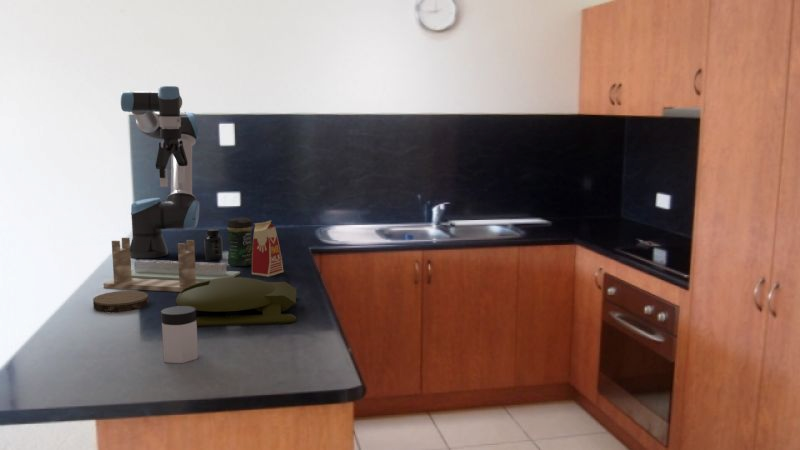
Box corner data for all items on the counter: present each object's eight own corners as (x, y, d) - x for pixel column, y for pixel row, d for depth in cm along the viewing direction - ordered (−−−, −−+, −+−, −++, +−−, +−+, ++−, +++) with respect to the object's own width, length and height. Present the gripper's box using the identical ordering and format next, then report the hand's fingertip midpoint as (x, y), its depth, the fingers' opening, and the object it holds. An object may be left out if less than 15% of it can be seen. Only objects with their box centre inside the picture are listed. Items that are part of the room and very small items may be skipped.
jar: (186, 349, 185) (184, 303, 183) (206, 356, 180) (204, 309, 178) (154, 358, 178) (152, 310, 176) (174, 366, 173) (171, 317, 171)
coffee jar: (239, 268, 280) (238, 220, 277) (224, 265, 284) (223, 218, 281) (257, 263, 288) (255, 216, 285) (242, 261, 292) (240, 215, 289)
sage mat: (119, 277, 264) (119, 274, 264) (140, 268, 278) (140, 266, 278) (224, 282, 257) (223, 280, 257) (240, 273, 271) (240, 271, 270)
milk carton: (283, 271, 274) (282, 218, 271) (269, 276, 266) (267, 222, 263) (263, 269, 278) (262, 217, 275) (248, 274, 270) (247, 220, 266)
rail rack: (103, 287, 249) (100, 241, 246) (118, 281, 258) (116, 236, 255) (194, 292, 243) (192, 244, 240) (206, 286, 251) (204, 240, 249)
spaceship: (296, 298, 238) (296, 268, 236) (296, 325, 208) (295, 291, 206) (185, 301, 233) (184, 271, 232) (168, 329, 203) (166, 295, 202)
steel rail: (135, 272, 269) (134, 261, 268) (140, 270, 273) (140, 259, 272) (222, 276, 262) (221, 265, 262) (226, 274, 266) (226, 263, 266)
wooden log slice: (90, 315, 217) (89, 305, 216) (96, 301, 232) (96, 292, 231) (147, 311, 221) (146, 301, 221) (150, 298, 236) (149, 289, 236)
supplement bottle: (225, 257, 300) (224, 228, 298) (219, 261, 293) (218, 231, 291) (208, 257, 300) (207, 228, 299) (202, 260, 294) (201, 231, 292)
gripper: (163, 129, 262) (165, 188, 265) (195, 127, 286) (197, 181, 289) (143, 129, 263) (146, 188, 266) (177, 127, 287) (179, 181, 291)
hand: (173, 184), depth 278 cm, fingers open, 13 cm apart
